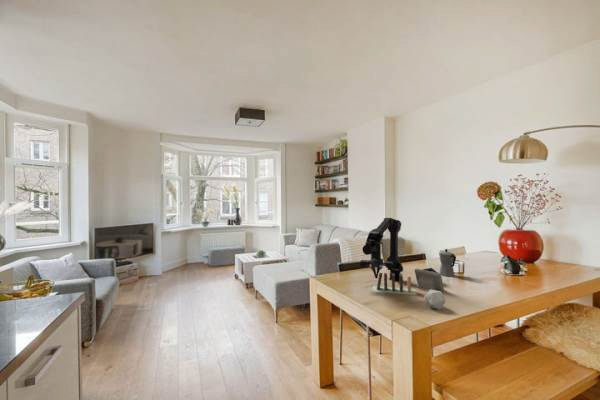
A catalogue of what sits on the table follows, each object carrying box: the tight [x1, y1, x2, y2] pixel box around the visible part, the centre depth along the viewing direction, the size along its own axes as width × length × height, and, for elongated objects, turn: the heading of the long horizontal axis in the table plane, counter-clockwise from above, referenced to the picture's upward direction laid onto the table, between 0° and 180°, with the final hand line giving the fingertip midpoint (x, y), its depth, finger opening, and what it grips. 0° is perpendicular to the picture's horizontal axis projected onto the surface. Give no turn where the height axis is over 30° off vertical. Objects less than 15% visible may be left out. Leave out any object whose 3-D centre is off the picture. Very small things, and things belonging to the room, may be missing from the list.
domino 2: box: [383, 272, 388, 291], centre depth 161 cm, size 2×5×9 cm, turn 161°
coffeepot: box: [438, 248, 457, 278], centre depth 189 cm, size 15×9×18 cm, turn 9°
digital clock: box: [414, 268, 445, 291], centre depth 162 cm, size 16×9×11 cm, turn 25°
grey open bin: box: [422, 267, 439, 273], centre depth 175 cm, size 13×14×10 cm
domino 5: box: [406, 274, 412, 293], centre depth 156 cm, size 2×5×9 cm, turn 162°
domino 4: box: [399, 273, 404, 292], centre depth 158 cm, size 2×5×9 cm, turn 161°
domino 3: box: [391, 274, 396, 291], centre depth 159 cm, size 2×5×9 cm, turn 162°
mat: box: [371, 285, 417, 296], centre depth 159 cm, size 24×10×1 cm, turn 71°
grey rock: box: [423, 289, 446, 310], centre depth 134 cm, size 8×9×10 cm
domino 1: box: [376, 272, 383, 290], centre depth 162 cm, size 2×5×9 cm, turn 162°
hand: (376, 278), depth 162 cm, fingers closed
